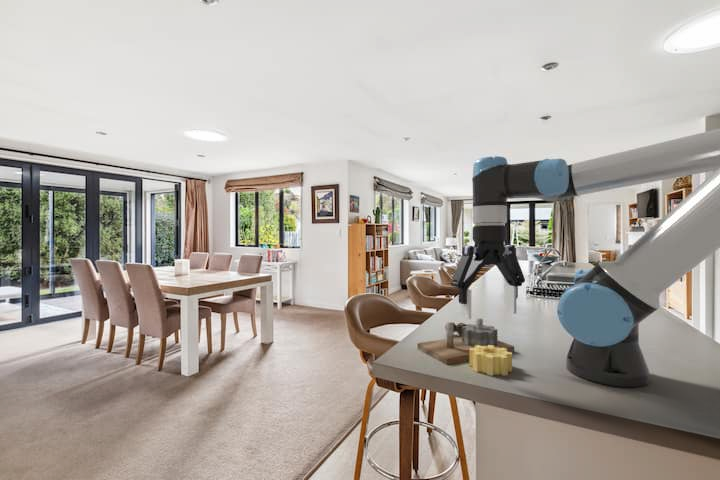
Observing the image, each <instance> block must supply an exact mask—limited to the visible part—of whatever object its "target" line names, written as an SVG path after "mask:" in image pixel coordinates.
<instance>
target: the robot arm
mask: <svg viewBox="0 0 720 480" xmlns="http://www.w3.org/2000/svg"><path fill="white" fill-rule="evenodd" d="M472 166H473V167H472V168H473V169H472V177H471V178H472V179H471V182H472V224H475V225H473V227H472V241H473V242H474V245H463V246H462V249H461V250H462V252H461V257H460V260H459V261H458V264H457V267H456V269H455V272H454V274H453V276H452V279H451V281H450V286H451V287H455V288H456V289H457V290H458V303H459V304H460V318H463V319H467V320H472V290H471V289H469V288H470V287H471V285H472V283H473V282H474V280H475V279H476V277H477V276H478V275H479V273H480V271H481V270H482V268H484V267H485V266H490V265H494V266H496V267H497V269H498V270H499V272H500V273H501V275H502V277H503V279H505V281H506V282H507V284H506V285H504V287H505V296H504V297H505V299H504V303H505V307H504V312H505V313H511V314H517V299H518V297H519V295H518V293H519V291H518V290H519V287H521V286H522V285H523V284H524V283H525V282H526V279H525V275H524V273H523V271H522V270H523V269H521V265H520V262H519V260H518V256H517V255H516V246H515V245H514V244H513V245H512V244H505V242H506V241H507V239H508V235H507V234H508V231H507V230H508V228H507V225H505V224H507V223H508V203H507V202H508V199H514V198H516V199H517V198H536V199H539V200H543V201H544V202H547V203H548V202H549V203H552V202H553V203H554V202H560V201H562V200H565V199H567V198H572V197H573V198H574V197H577V196H582V195H583V196H584V195H588V194H594V193H599V192H605V191H609V190H615V189H621V188H627V187H631V186H632V187H633V186H638V185H642V184H648V183H653V182H658V181H660V182H661V181H665V180H671V179H676V178H677V179H678V178H682V177H686V176H692V175H697V174H703V173H708V172H709V173H710V172H713V173H712V174H711V175H709V177H707V178H706V179H705V180H704V181H703V182H702V183H701V184H700V185H698V186H697V187H696V188H695V189H693V191H692V192H691V193H689V194H688V195H687V196H686V197H685V198H684V199H682V200H681V201H680V202H679V203H678V204H677V205H675V206H674V207H673V208H672V209H671V210H670V211H669V212H668V213H667V214H666V215H665V216H664V217H662V218H661V219H659V221H658V222H657V223H656V224H654V225H653V226H651V228H650V229H649V230H648V231H646V232H645V233H644V234H643V235H641V236H640V237H639V238H638V240H635V242H634V243H633V244H632V245H630V246H629V247H628V248H627V249H626V250H624V252H623V253H622V254H620V255H619V256H618V257H617V258H616V259H615V260H610V261H599V262H598V263H597V264H596V265H595V266H594V267H593V268H592V269H579V270H577V271H575V274H574V279H573V283H574V284H573V285H572V286H571V285H570V286H569V287H567V288H566V289H565V290H563V292H562V294H561V295H560V298H559V300H558V302H557V308H556V309H557V310H556V312H557V318H558V320H559V323H560V324H561V326H562V328H563V329H564V330H565V332H566V333H568V334H569V335H570V336H571V337H572V338H573V340H572V342H571V345H570V347H569V350H568V352H567V355H566V360H565V362H566V364H565V365H566V369H567V370H568V371H569V372H570V373H571V374H573V375H575V376H577V377H580V378H581V379H585V380H587V381H590V382H594V383H596V384H597V383H598V384H602V385H607V386H612V387H623V388H639V387H644V386H647V385H649V384H650V370H649V367H648V364H647V362H646V359H645V357H644V353H643V352H642V349H641V346H640V341H639V339H640V338H639V335H640V334H639V333H640V332H639V326H640V325H639V324H640V323H641V322H643V321H644V320H645V319H646V318H648V317H649V316H651V315H652V314H653V313H654V312H655V311H657V310H658V309H660V308H661V304H660V303H661V302H660V301H661V300H660V296H661V294H662V293H664V292H665V291H666V290H667V289H668V288H670V287H671V286H673V285H674V284H675V283H676V282H677V281H679V280H680V279H682V278H683V277H684V276H685V275H687V274H688V273H689V272H691V271H692V270H693V269H694V268H696V267H697V266H698V265H700V264H701V263H702V262H704V260H706V259H707V258H708V257H710V256H712V254H714V253H715V252H716V251H718V250H719V249H720V128H716V129H712V130H709V131H704V132H699V133H696V134H695V133H694V134H691V135H687V136H683V137H680V138H679V137H678V138H675V139H671V140H666V141H662V142H659V143H657V142H656V143H654V144H650V145H646V146H645V145H644V146H642V147H641V146H640V147H638V148H633V149H629V150H625V151H621V152H616V153H612V154H608V155H605V156H604V155H603V156H599V157H595V158H591V159H587V160H584V161H583V160H582V161H579V162H574V163H572V164H568V163H567V161H566V160H565V159H563V158H551V159H550V158H544V159H542V160H536V161H528V162H522V163H521V162H520V163H513V164H512V163H511V164H509V163H508V160H507V158H506V157H504V156H497V155H495V156H484V157H481V158H478V159H476V160H475V161H474V163H473V165H472Z"/></svg>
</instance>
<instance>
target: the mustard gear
mask: <svg viewBox="0 0 720 480" xmlns="http://www.w3.org/2000/svg"><path fill="white" fill-rule="evenodd" d="M469 354H470V360H469V367H472V371H474V372H475V373H482V374H486V376H492V377H493V376H494V375H496V376H497V375H502V376H503V377H504V376H509V372H512V373H513V352H507V349H506V348H498V347H494V345H488V346H480V345H476V346H474V348H470V350H469Z"/></svg>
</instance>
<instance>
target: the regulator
mask: <svg viewBox="0 0 720 480" xmlns="http://www.w3.org/2000/svg"><path fill="white" fill-rule="evenodd" d="M451 322H452V321H451ZM452 323H453V334H455V332H456V333H457V334H458V335H459V337H462V326H466V323H464V322H459V323H458V324H456V323H455V322H452ZM444 327H445V329H446V324H445V326H444Z"/></svg>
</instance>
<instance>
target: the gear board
mask: <svg viewBox="0 0 720 480" xmlns="http://www.w3.org/2000/svg"><path fill="white" fill-rule="evenodd" d="M453 323H454V322H453ZM453 323H452V321H447V322H446V324H445V325H446V328H445V332H446V338H444V339H438V340H437V339H436V340H430V341H425V342H424V341H423V342H418V343H417V349H418V350H420V351H421V352H423V353H424V354H426V355H428V356H430V357H432V358H433V359H436V360H437V361H439V362H441V363H443V364H444V365H452V364H456V363H462V362H463V363H464V362H467V361H469V362H470V354H469V350H470V348H474V346H476V345H480V346H488V345H494V347H498V348H506V349H507V352H512V353H515V345H512V344H509V343H506V342H504V341H501V340H498V337H499V336H498V328H495V326H493V325H484V320H483V318H479V317H477V318H475V324H471V323H467V324H466V323H465V324H466V326H462V337H461V336H457V337H454V333H453Z"/></svg>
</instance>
